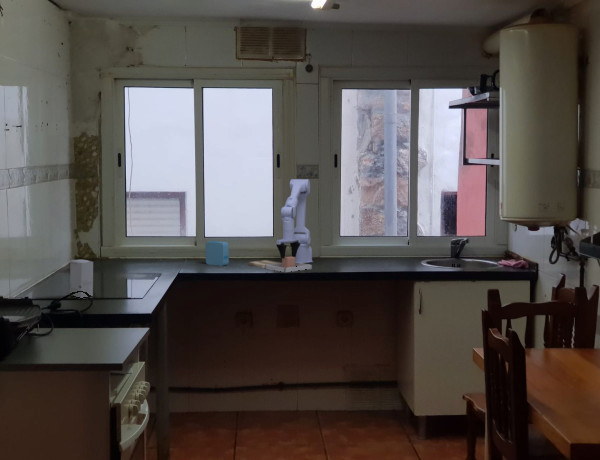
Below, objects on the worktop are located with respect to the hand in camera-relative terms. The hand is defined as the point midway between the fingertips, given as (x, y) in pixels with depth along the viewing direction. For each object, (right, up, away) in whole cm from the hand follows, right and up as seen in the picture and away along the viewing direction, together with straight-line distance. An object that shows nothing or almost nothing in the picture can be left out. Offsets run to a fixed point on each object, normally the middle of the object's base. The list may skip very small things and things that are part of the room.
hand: (288, 257), depth 385 cm
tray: (0, -6, +1) cm, 6 cm away
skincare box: (-82, -13, -73) cm, 111 cm away
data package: (-37, -4, +15) cm, 40 cm away
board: (-12, -4, +12) cm, 18 cm away
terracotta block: (0, -6, +1) cm, 6 cm away
